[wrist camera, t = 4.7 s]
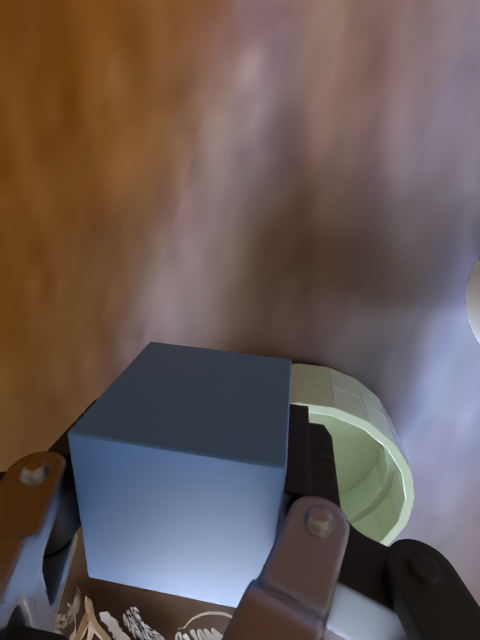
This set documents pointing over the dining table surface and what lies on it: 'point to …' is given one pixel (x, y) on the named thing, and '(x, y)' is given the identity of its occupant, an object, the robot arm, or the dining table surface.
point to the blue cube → (184, 471)
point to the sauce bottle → (474, 300)
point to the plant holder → (113, 625)
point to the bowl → (359, 449)
